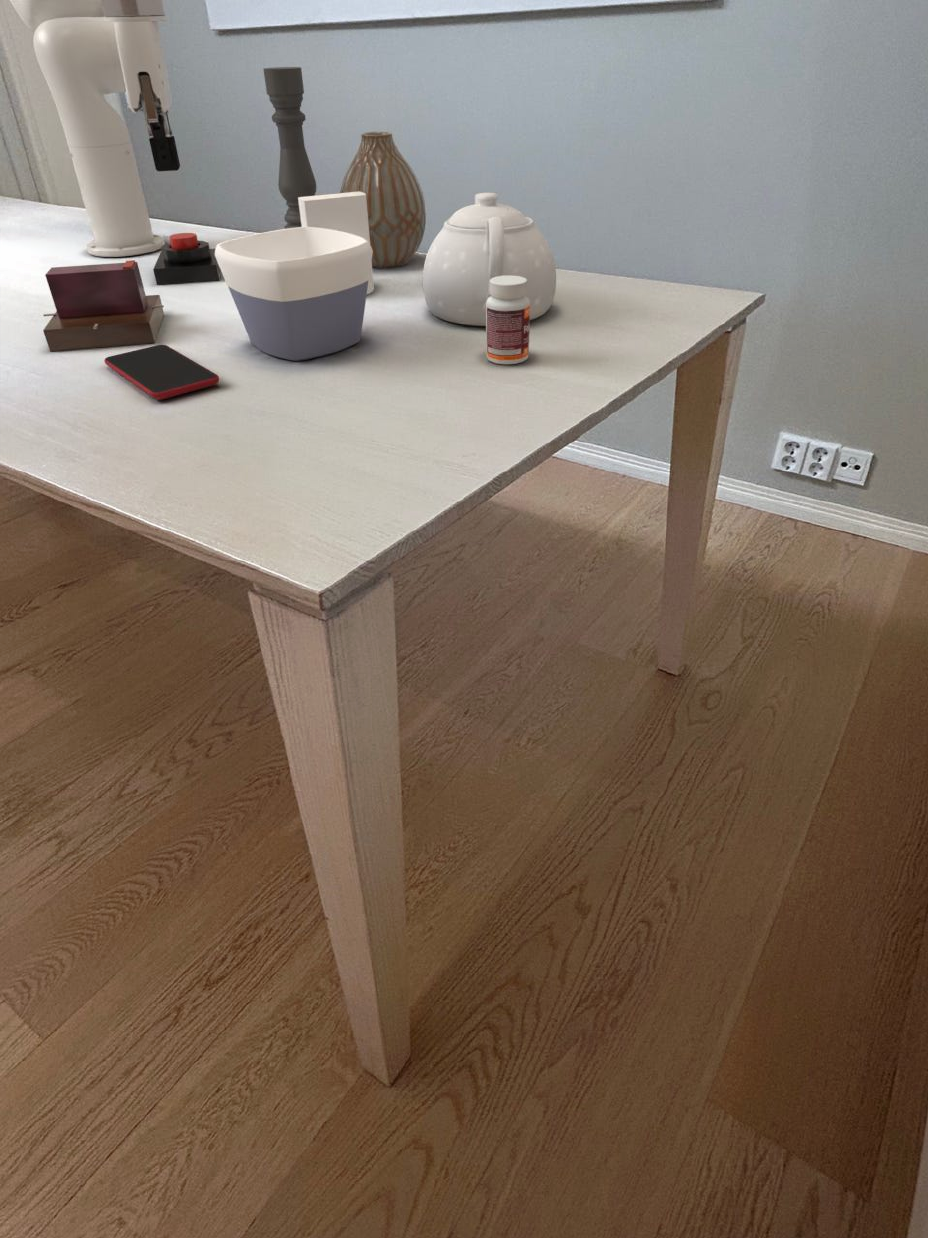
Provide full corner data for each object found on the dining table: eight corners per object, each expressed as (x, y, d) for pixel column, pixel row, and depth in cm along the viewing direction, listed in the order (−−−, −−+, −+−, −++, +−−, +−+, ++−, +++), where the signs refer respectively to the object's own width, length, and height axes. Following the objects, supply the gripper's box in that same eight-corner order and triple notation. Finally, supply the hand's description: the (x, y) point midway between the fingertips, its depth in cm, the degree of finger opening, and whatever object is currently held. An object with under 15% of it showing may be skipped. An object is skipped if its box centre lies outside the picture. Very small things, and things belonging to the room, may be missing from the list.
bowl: (320, 315, 103) (308, 221, 97) (397, 341, 95) (389, 240, 88) (215, 344, 95) (194, 244, 88) (289, 376, 86) (272, 267, 79)
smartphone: (164, 343, 93) (221, 376, 84) (166, 350, 94) (223, 384, 84) (101, 357, 89) (154, 394, 80) (103, 365, 90) (156, 403, 80)
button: (173, 245, 121) (170, 233, 120) (199, 244, 122) (197, 231, 121) (170, 251, 118) (167, 239, 117) (198, 250, 119) (195, 237, 118)
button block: (164, 266, 126) (157, 239, 123) (222, 262, 127) (217, 235, 125) (156, 284, 117) (149, 255, 115) (219, 280, 119) (213, 251, 116)
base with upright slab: (320, 302, 108) (308, 204, 101) (303, 286, 115) (290, 193, 108) (382, 293, 111) (375, 198, 104) (362, 278, 118) (354, 187, 110)
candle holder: (320, 251, 132) (299, 68, 117) (283, 252, 132) (257, 69, 117) (326, 243, 137) (306, 66, 121) (290, 243, 137) (266, 67, 122)
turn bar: (58, 318, 96) (44, 272, 93) (64, 309, 99) (50, 265, 96) (144, 311, 98) (132, 266, 95) (147, 303, 100) (136, 259, 97)
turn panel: (62, 319, 104) (55, 298, 103) (173, 310, 107) (168, 290, 105) (38, 355, 93) (30, 332, 92) (163, 345, 95) (157, 322, 94)
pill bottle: (532, 363, 88) (535, 284, 83) (490, 366, 87) (490, 286, 82) (523, 349, 92) (525, 272, 87) (482, 352, 91) (482, 275, 86)
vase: (359, 251, 131) (347, 127, 121) (436, 253, 129) (431, 127, 118) (332, 272, 121) (317, 138, 110) (416, 274, 119) (408, 139, 108)
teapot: (388, 313, 104) (379, 196, 95) (482, 283, 114) (482, 176, 106) (496, 343, 93) (497, 215, 85) (589, 307, 104) (597, 190, 96)
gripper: (112, 8, 108) (147, 163, 119) (93, 7, 96) (134, 179, 107) (169, 7, 109) (198, 160, 120) (157, 6, 97) (191, 176, 108)
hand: (168, 168), depth 114 cm, fingers closed
